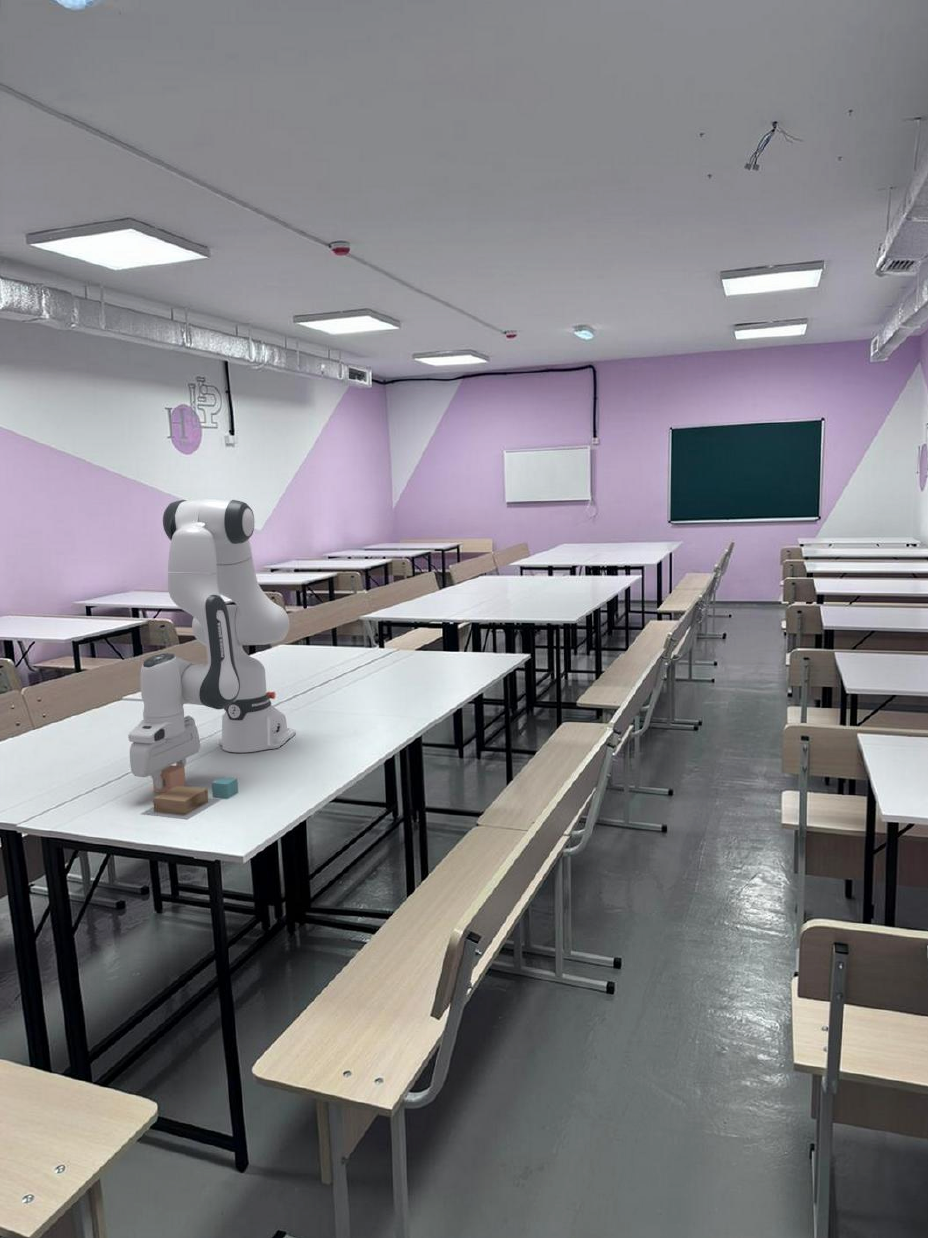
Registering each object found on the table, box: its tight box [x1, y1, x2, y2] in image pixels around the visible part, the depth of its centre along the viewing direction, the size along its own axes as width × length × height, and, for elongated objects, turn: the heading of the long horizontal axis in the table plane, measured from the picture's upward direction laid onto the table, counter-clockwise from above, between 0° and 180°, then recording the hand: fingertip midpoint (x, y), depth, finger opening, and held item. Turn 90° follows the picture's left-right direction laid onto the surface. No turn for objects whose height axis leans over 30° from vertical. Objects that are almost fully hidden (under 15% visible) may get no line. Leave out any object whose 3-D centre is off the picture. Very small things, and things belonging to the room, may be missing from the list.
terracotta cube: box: [152, 764, 187, 793], centre depth 195 cm, size 5×5×5 cm
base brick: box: [152, 786, 209, 815], centre depth 183 cm, size 8×8×3 cm
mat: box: [140, 797, 222, 820], centre depth 183 cm, size 12×12×1 cm
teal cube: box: [211, 776, 239, 799], centre depth 190 cm, size 4×4×4 cm
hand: (169, 783), depth 195 cm, fingers closed on terracotta cube, 5 cm apart
